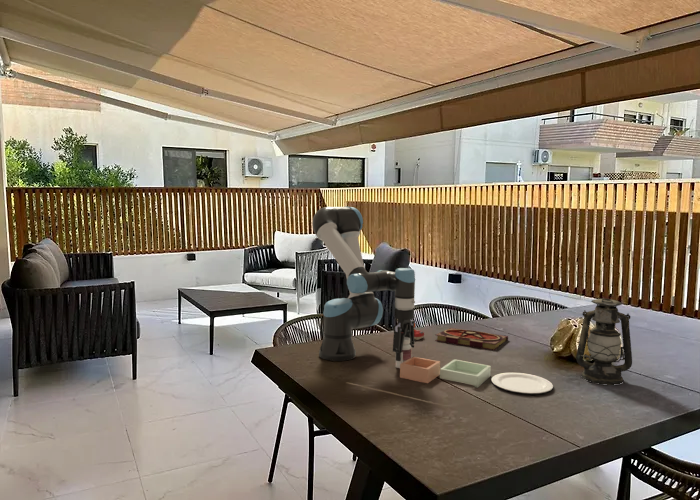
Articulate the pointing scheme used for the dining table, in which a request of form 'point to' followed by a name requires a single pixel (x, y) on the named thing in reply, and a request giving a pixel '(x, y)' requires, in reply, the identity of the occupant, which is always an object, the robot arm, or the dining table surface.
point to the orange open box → (420, 369)
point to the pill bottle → (406, 349)
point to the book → (471, 338)
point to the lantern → (604, 343)
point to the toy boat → (418, 334)
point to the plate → (522, 383)
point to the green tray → (465, 372)
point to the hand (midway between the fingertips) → (403, 366)
